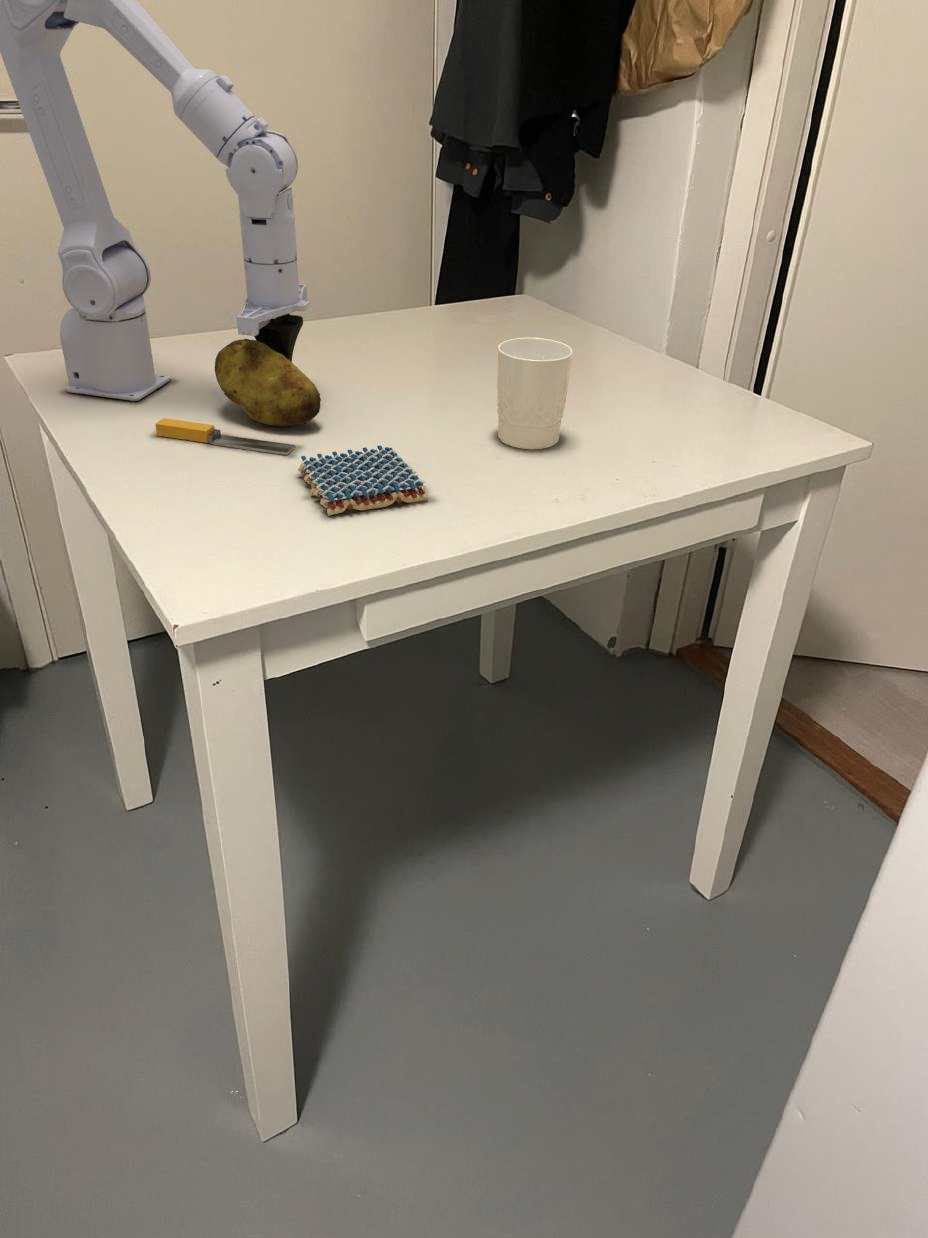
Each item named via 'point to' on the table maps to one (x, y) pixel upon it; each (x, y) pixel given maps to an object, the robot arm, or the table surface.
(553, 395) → the white cup
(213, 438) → the knife
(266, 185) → the robot arm
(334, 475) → the woven mat
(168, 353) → the table surface
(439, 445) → the table surface
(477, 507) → the table surface
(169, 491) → the table surface
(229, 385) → the potato
